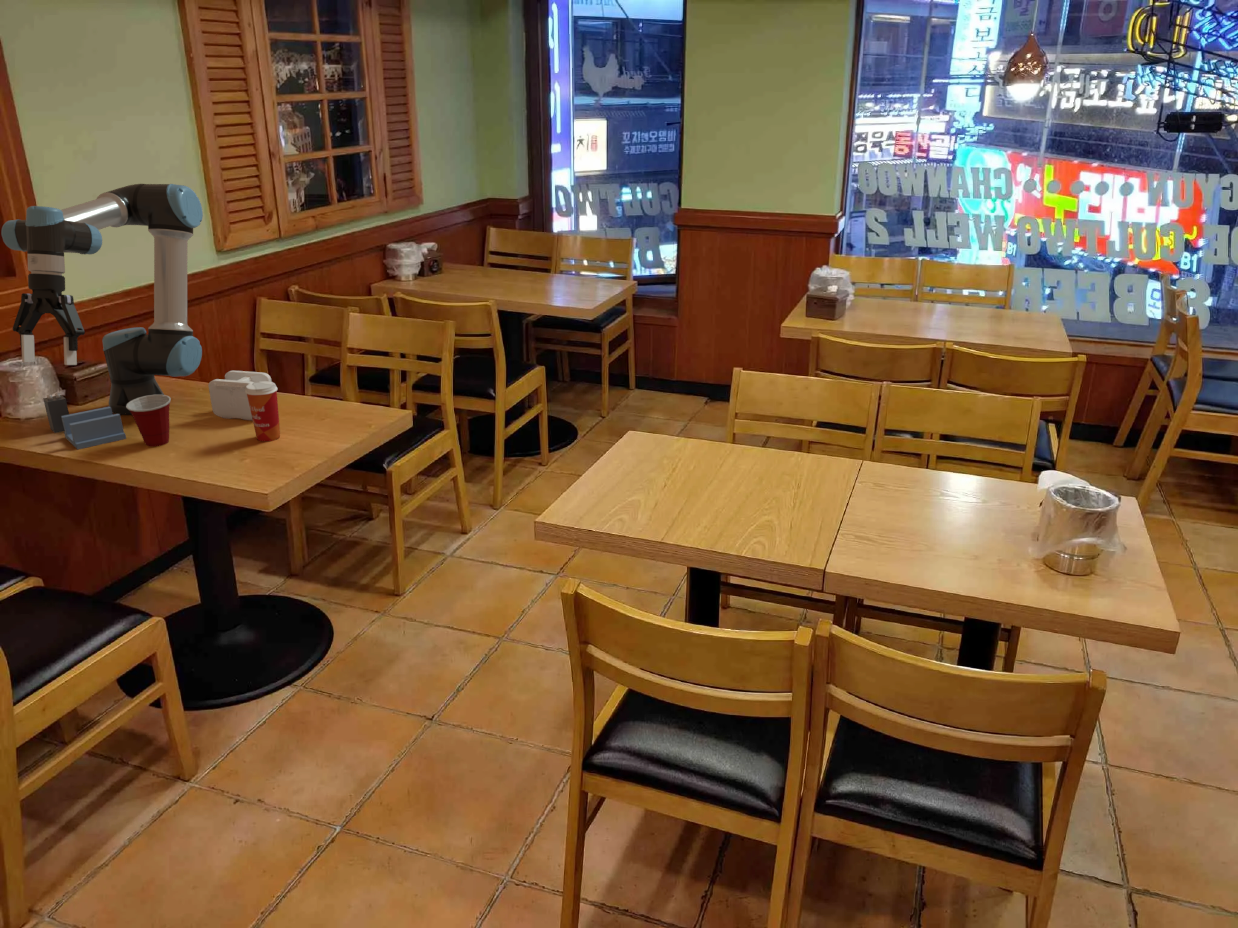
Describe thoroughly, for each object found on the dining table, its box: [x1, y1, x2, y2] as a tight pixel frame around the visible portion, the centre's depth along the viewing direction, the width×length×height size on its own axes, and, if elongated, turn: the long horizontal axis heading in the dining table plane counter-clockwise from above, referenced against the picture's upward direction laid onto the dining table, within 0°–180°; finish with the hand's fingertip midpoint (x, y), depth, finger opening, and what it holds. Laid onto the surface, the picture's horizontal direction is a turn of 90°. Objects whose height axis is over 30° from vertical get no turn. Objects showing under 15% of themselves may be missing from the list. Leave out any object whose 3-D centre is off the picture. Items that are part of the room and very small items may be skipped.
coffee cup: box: [245, 381, 281, 442], centre depth 248 cm, size 8×8×15 cm
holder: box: [61, 405, 127, 450], centre depth 249 cm, size 12×12×6 cm
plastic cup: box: [126, 394, 172, 448], centre depth 245 cm, size 11×11×12 cm
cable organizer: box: [208, 370, 273, 421], centre depth 266 cm, size 15×11×12 cm
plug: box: [42, 392, 70, 434], centre depth 255 cm, size 4×4×10 cm
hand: (49, 363), depth 221 cm, fingers open, 13 cm apart
